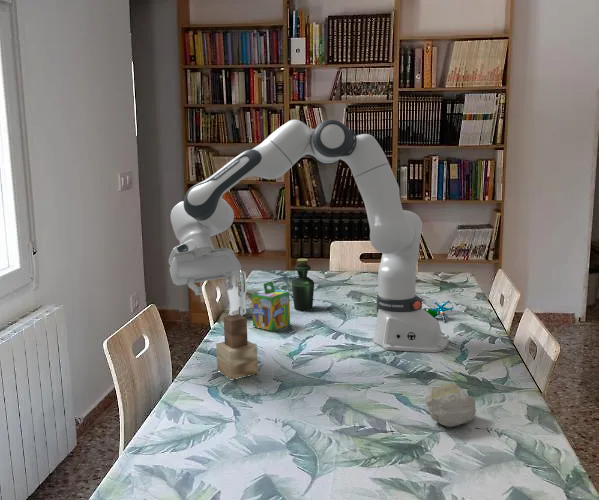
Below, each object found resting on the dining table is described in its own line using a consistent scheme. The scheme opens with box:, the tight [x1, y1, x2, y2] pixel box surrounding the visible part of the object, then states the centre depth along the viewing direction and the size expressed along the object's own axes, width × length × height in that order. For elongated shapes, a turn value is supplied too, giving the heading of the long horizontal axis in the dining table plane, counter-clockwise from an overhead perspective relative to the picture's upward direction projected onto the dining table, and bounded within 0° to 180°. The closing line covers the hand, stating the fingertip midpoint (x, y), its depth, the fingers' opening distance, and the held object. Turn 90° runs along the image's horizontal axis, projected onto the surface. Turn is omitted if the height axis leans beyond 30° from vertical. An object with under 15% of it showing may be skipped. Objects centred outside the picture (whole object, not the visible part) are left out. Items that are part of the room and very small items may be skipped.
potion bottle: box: [291, 258, 315, 312], centre depth 237 cm, size 8×8×18 cm
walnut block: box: [223, 314, 249, 349], centre depth 178 cm, size 4×4×8 cm
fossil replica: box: [424, 383, 477, 428], centre depth 148 cm, size 12×8×10 cm
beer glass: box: [225, 270, 247, 315], centre depth 232 cm, size 7×7×15 cm
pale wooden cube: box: [215, 340, 259, 380], centre depth 179 cm, size 8×8×8 cm
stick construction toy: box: [423, 300, 455, 323], centre depth 222 cm, size 12×7×8 cm
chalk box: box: [251, 280, 291, 332], centre depth 218 cm, size 9×9×15 cm
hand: (215, 291), depth 185 cm, fingers open, 8 cm apart
